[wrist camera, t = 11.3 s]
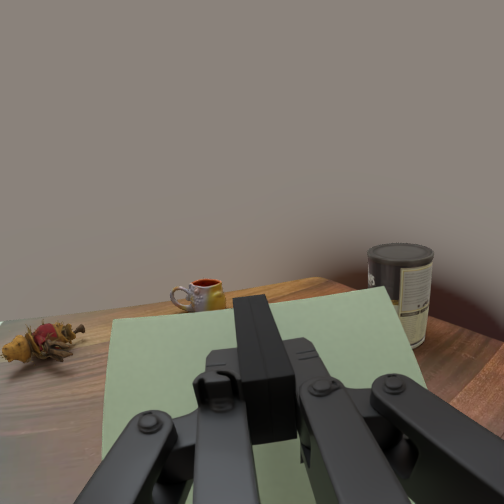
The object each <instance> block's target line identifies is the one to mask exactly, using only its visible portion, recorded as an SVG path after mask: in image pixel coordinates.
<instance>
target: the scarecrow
mask: <svg viewBox="0 0 504 504" xmlns="http://www.w3.org/2000/svg"><path fill="white" fill-rule="evenodd" d="M43 320H44V319H43ZM61 324H62V323H61ZM26 326H27V325H26ZM71 326H72V325H70V324H67V325H66V326H63V324H62V325H60V323H57V322H56V323H55V324H50V323H49V324H44V323H43V324H42V325H40V326H39V327H38V328H37V330H35V332H34V333H31V327H30V330H29V328H28V329H27V330H29V331H28V333H26V334H25V333H24V334H25V337H23V336H22V335H18V336H16V337H15V338H14V339H13V340H12V342H11V343H8V344H6V345H4V346H3V348H2V353H3V354H2V355H3V356H4V357H5V359H6V360H8V362H11V361H13V360H19V361H22V362H23V363H27V362H29V361H30V360H31V352H33V354H34V355H35V356H37V357H38V356H39V357H38V358H39V359H46V358H47V357H52V358H53V359H54V360H56V361H60V362H63V359H62V357H67V356H71V355H73V353H70V352H67V351H65V350H62V349H64V348H69V347H70V346H69V345H67V344H65V343H67V342H69V343H70V344H72V342H71V340H73V339H75V338H76V336H75V334H76V333H78V332H82V333H84V332H85V328H84V326H83V325H82V324H81V325H80V326H79V327H77V328H76V330H75V331H74V332H72V331H71V330H73V329H71ZM42 352H46V354H47V353H49V354H50V355H48V356H46V357H45V356H43V355H42V354H44V353H42ZM41 353H42V354H41ZM2 355H0V356H2ZM40 356H42V357H40ZM4 357H3V358H4ZM32 362H33V361H32ZM35 365H36V364H35Z"/></svg>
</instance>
